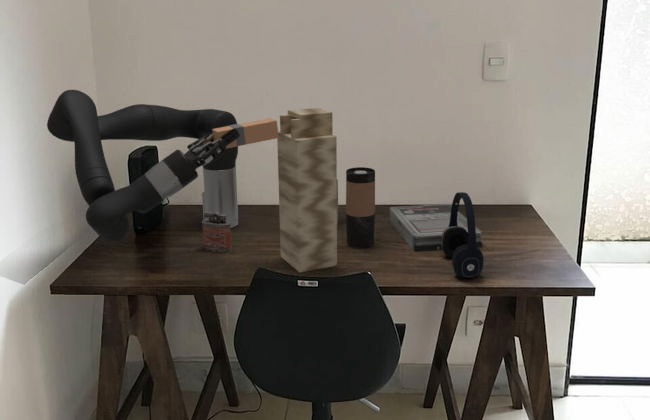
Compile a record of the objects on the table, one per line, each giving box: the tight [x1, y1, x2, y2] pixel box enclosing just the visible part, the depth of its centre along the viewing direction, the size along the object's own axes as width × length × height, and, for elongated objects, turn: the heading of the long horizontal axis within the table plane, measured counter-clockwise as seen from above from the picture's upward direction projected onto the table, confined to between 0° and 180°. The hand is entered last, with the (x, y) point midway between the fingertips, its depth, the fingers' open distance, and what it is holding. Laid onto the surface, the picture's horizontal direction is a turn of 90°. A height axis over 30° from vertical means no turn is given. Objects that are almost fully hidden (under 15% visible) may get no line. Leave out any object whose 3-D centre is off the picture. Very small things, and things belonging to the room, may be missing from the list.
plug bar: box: [212, 117, 279, 149], centre depth 159 cm, size 14×4×4 cm, turn 115°
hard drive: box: [389, 203, 483, 252], centre depth 195 cm, size 18×27×4 cm
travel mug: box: [345, 166, 376, 249], centre depth 184 cm, size 8×8×20 cm
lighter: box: [201, 212, 233, 253], centre depth 183 cm, size 8×3×10 cm, turn 71°
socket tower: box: [276, 107, 338, 273], centre depth 170 cm, size 10×12×37 cm
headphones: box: [441, 191, 484, 280], centre depth 168 cm, size 20×7×18 cm, turn 2°
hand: (233, 130), depth 157 cm, fingers closed on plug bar, 4 cm apart
